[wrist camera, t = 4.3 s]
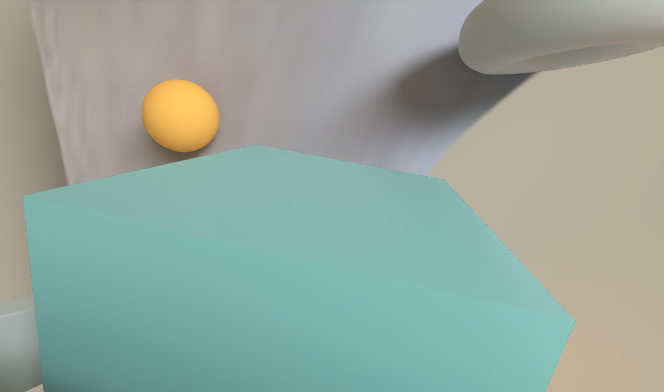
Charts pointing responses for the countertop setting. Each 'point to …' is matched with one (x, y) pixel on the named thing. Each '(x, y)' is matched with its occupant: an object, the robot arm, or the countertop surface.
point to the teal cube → (281, 283)
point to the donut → (557, 33)
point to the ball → (180, 115)
